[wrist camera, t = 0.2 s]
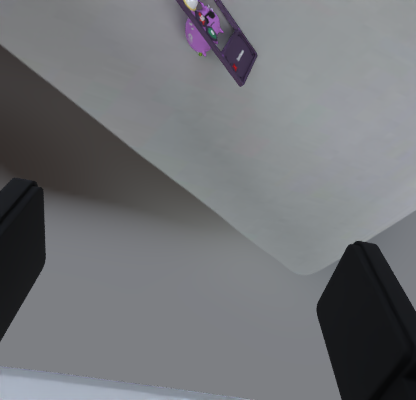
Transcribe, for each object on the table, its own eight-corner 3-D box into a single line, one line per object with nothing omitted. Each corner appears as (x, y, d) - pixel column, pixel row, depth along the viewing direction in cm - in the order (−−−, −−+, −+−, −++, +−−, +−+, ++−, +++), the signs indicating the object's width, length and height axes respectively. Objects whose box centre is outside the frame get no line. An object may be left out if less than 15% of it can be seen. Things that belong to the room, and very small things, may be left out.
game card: (250, 81, 32) (184, -11, 29) (207, 108, 36) (142, 28, 32) (263, 50, 37) (208, -32, 33) (224, 77, 40) (169, 4, 37)
